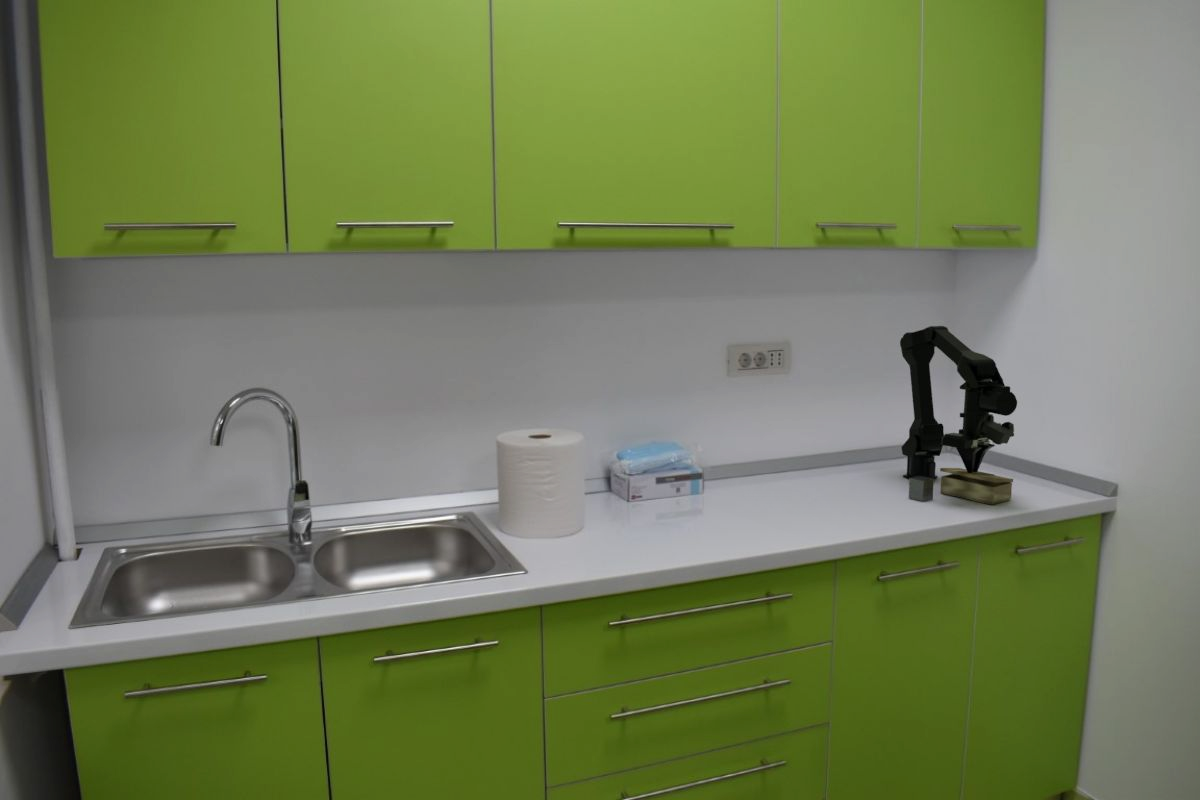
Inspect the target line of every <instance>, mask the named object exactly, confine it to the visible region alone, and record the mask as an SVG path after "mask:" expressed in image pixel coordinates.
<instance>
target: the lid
mask: <svg viewBox="0 0 1200 800" xmlns="http://www.w3.org/2000/svg"><path fill="white" fill-rule="evenodd" d="M939 472H943V473H947V474H956V475H961V476H966V477H970V478H975V479H980V480H985V481H990V482H1011V483H1013V482H1014V478H1010V477H1004V476H1001V475H995V474H993V473H990V472H984V471H979V470H978V471H977V472H972V473H968V472H967V470H966V468H960V467H940V468H939Z"/></svg>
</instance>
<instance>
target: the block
mask: <svg viewBox="0 0 1200 800" xmlns="http://www.w3.org/2000/svg"><path fill="white" fill-rule="evenodd" d="M908 479H909V481H908V498H909V499H912V500H917V501H920V502H925V501H929V500H932V499H933V498H934V480H935V478H934V479H932V478H928V477H923V476H916V477H912V478H908Z"/></svg>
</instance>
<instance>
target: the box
mask: <svg viewBox="0 0 1200 800" xmlns="http://www.w3.org/2000/svg"><path fill="white" fill-rule="evenodd" d="M1012 485H1013V482H990V481H985V480H980V479H975V478H970V477H966V476H961V475H956V474H951V473H948V474H946V475H942V476H941V477H940V489H939V492H940V494H944V495H949V496H953V497H957V498H961V499H967V500H970V501H974V502H978V503H983V504H986V505H991V506H993V505H996V504H1000V503H1002V502H1003V503H1004V502H1007V501H1011V500H1012V489H1013V488H1012V487H1013V486H1012Z"/></svg>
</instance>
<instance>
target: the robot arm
mask: <svg viewBox="0 0 1200 800" xmlns="http://www.w3.org/2000/svg"><path fill="white" fill-rule="evenodd" d="M899 346H900V349H901V351H900V352H901V355H902V358H903V359H904V360H905V362H906V363H907V365H909V376H910V385H911V396H912V404H913V405H912V406H913V422H912V423H911V425H910V427H909V431H908V432H909V433H908V439H907V440H906V441H905V442H904V444H902V446H901V453H902V455H903V456H905V457H907V458H906V459H907V461H906V462H907V465H906V474H903V475H902V477H903V478H907V479H910V478H912V477H916V476H923V477H928V478H932V479H934V480H935V479H937V478H938V475H936V466H937V463H936V461H935V458H936V457H940V455H941V453H942V449H943V446H945V447H950V448H951V447H952V448H956V450H957V452H958V454H959V456H960V458H961V460H962V463H963V466H964V469H966V470H967V472H968V473H972V472H977V471H979V469H980V466H981V464H982V461H983V459H984V457H985V455H986V453H987V452H988V451H989V450H990V449H992V448H994V447H995V446H996V445H1002V444H1008V443H1009V441H1010V439H1011V438H1012V437H1015V427H1014V423H1012V422H1010V421H1005V422H1003V423H1000V422H995V421H994V420H995V417H994V415H993V414H996V415H1000V416H1011V414H1012V415H1013V413H1014V412H1015V411H1016V408H1017V407H1018V399H1017V397H1016V395H1015V393H1013V392H1012V391H1011V386H1009V385H1005V383H1004V379H1003V378H1002V376H1001V373H1000V372H999V368H998V367H997V364H996V362H995V360H994V359H992V357H989V356H987V355H985V354H982V353H979V352H976V351H973V350H972V349H971V348H969V347H968V346H967V345H966V344H965V343H964V342H962V341H961V340H960V339H958V337H956V336H955V335H954V334H953V333H951V332H950V331H949V329H948V327H947V326H944V325H930V326H928V327H927V326H926V327H925V328H923V329H920V330H915V331H911V332H905V333H904V334H903V335H902V337H901V338H900V341H899ZM935 348H937V349H938V350H939V351H941V353H943V354H944V355H945V356H947V358H948V359H949V360H950V361H952V362H953V363H954V364H955V365H956V372H957V373H958V375H960V377H961V378H962V380H963V381H964V382H963V383H962V384H961V385H960V386H959V389H960V390H965V391H964V401H963V402H964V406H963V412H959V418H962V419H963V420H962V428H960V429H958V433H957V432H950V433H944V424H943V423H938V421H937V420H936V418H935V412H934V410H935V409H934V401H933V400H934V399H933V391H932V380H931V370H930V369H931V367H930V364H931V362H932V359H933V357H934V355H935V352H936V351H935ZM991 442H992V444H991Z"/></svg>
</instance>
